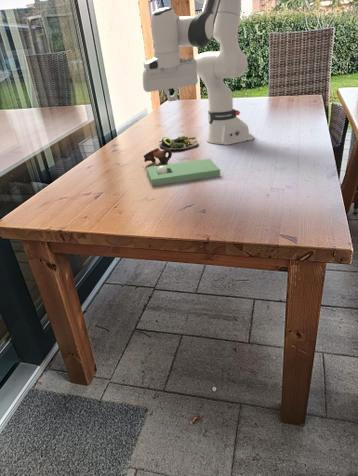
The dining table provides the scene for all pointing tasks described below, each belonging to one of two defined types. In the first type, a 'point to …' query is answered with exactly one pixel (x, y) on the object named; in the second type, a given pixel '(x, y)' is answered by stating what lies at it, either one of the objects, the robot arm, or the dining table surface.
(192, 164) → the green board
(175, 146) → the salad plate
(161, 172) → the ball
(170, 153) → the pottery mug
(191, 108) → the dining table surface
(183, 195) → the dining table surface
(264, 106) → the dining table surface
